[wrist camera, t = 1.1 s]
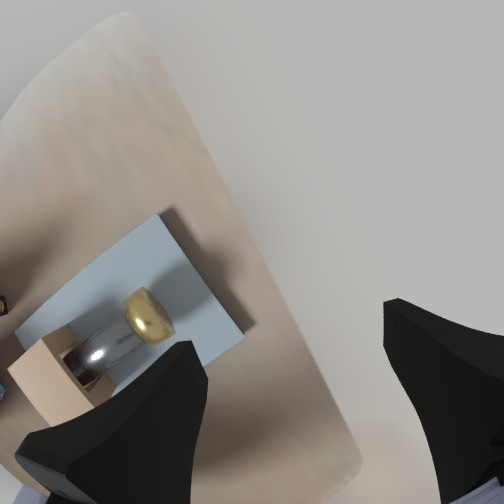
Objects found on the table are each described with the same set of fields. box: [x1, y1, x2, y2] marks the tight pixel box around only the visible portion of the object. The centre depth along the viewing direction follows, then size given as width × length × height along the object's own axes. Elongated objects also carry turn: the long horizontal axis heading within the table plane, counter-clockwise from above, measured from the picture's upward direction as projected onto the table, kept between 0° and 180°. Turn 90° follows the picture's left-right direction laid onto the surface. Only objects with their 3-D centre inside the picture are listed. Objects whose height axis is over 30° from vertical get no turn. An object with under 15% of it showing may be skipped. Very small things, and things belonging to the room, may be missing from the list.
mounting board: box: [8, 213, 245, 427], centre depth 18 cm, size 18×12×6 cm, turn 124°
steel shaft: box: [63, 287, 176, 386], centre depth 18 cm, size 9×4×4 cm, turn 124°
